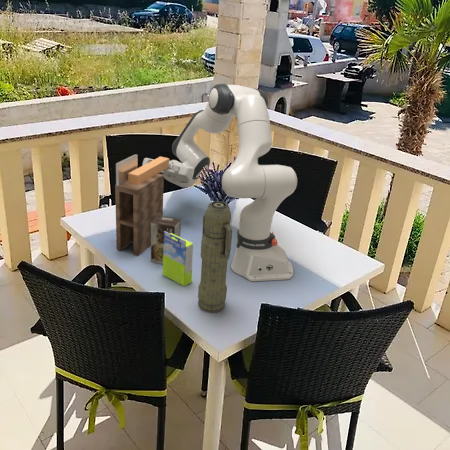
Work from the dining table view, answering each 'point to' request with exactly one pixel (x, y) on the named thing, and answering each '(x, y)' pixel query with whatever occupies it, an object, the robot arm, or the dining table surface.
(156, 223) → the coffee box
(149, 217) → the shelf
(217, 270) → the thermos
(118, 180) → the bookend
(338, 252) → the dining table surface
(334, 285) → the dining table surface
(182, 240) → the box
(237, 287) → the dining table surface
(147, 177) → the orange rectangular bar
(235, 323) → the dining table surface
